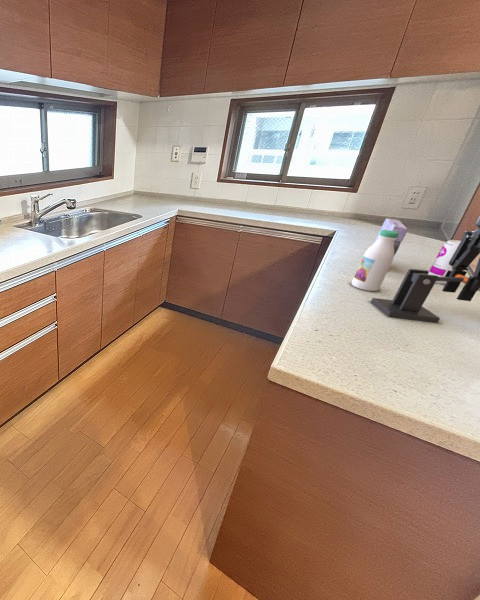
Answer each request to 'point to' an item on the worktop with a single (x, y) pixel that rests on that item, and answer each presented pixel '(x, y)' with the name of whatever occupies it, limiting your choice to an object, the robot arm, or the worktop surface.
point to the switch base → (410, 298)
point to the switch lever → (446, 278)
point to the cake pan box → (394, 226)
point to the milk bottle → (376, 262)
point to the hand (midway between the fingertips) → (455, 295)
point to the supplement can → (444, 260)
